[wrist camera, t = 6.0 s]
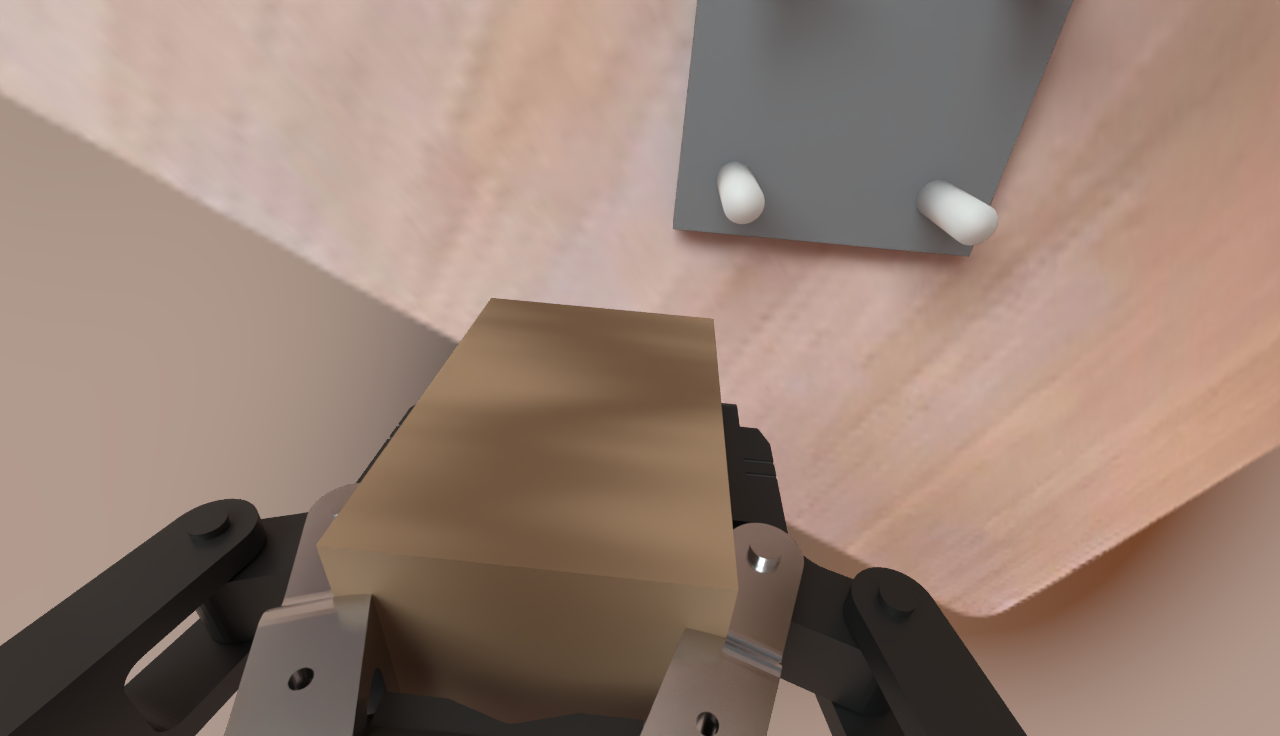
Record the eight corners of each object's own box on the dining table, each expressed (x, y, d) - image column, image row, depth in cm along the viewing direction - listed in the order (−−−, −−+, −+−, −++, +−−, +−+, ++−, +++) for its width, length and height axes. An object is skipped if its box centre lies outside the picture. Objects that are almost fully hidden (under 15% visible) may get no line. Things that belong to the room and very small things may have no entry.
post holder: (1105, -129, 20) (1228, -173, 15) (958, 247, 27) (1012, 290, 23) (715, -163, 20) (726, -218, 16) (673, 221, 27) (672, 259, 23)
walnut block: (713, 319, 12) (738, 590, 6) (687, 483, 15) (688, 784, 9) (491, 297, 13) (315, 545, 7) (504, 465, 15) (387, 749, 9)
